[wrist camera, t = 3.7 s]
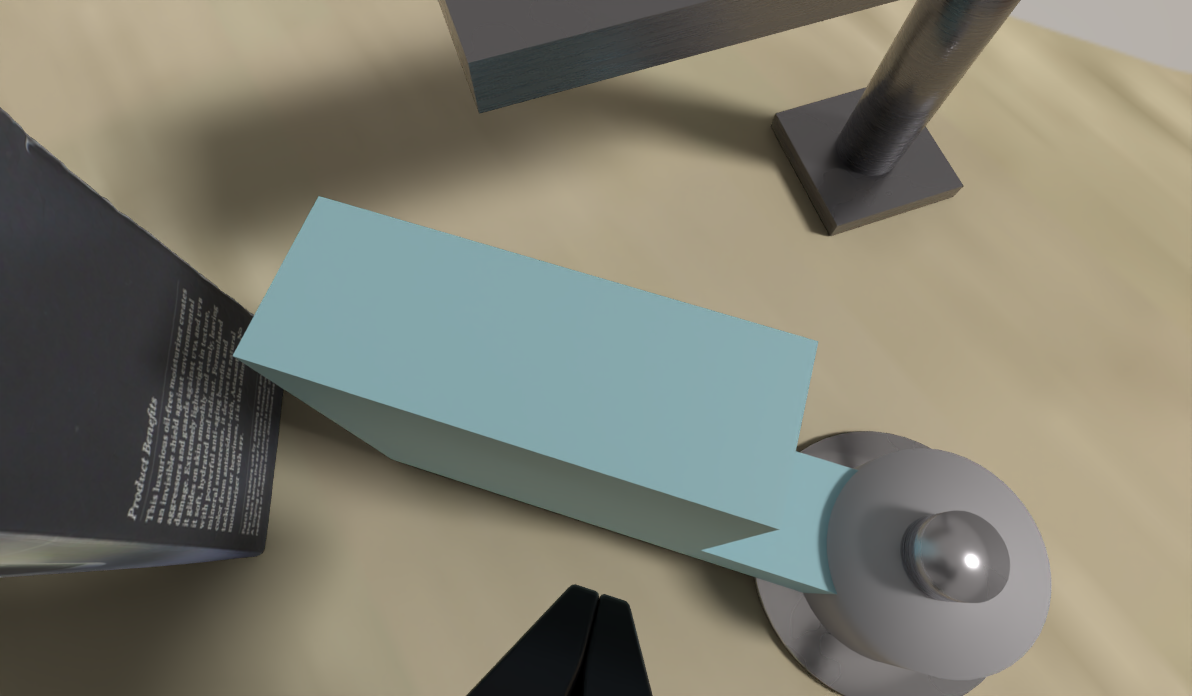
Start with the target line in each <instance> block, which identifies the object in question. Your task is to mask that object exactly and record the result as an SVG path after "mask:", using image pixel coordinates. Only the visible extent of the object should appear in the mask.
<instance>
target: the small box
mask: <svg viewBox="0 0 1192 696" xmlns="http://www.w3.org/2000/svg"><path fill="white" fill-rule="evenodd" d="M253 317H254V315H253V314H252V313H250V312H249V311H248V310H246V309H244V308H243V307H242V306H241V305H240V304H239V303H237V302H236V301H235V300H234V299H233V298H231V297H230V296H228V295H227V294H225V293H224V292H222V291H221V290H220V289H219V288H218V287H217V286H216V285H215V284H213V283H212V282H211V281H209V280H208V279H207V278H205V277H204V276H203V275H202V274H200V273H198V272H197V271H196V270H195V269H194V268H193V267H191V266H190V265H189V264H188V263H187V262H185V261H184V260H183V259H181V258H180V257H179V256H178V255H176V254H175V253H174V252H172V251H171V250H170V249H168V248H167V247H166V246H165V245H164V244H162V243H161V242H160V241H159V240H157V239H156V238H155V237H154V236H153V235H152V234H151V233H149V232H148V231H146V230H145V229H143V228H142V227H140V226H139V225H137V224H136V223H135V222H134V221H133V220H132V219H131V218H129V217H128V216H126V215H125V214H123V213H121V212H120V211H118V210H117V209H116V208H115V207H114V206H113V205H112V203H111V202H110V201H109V200H108V199H106V198H104V197H101V196H100V195H99V194H98V193H97V192H96V191H95V190H94V189H93V188H91V187H90V186H89V185H88V184H86V183H85V182H84V181H83V180H81V179H80V178H79V177H78V176H76V175H75V174H74V173H72V172H71V171H70V170H68V168H67V167H66V166H65V165H64V164H63V163H62V162H61V161H60V160H58V159H57V158H56V157H55V156H53V155H52V154H51V153H50V152H49V151H48V150H47V149H45V148H44V147H43V146H42V145H40V144H39V143H38V142H37V141H36V140H34V139H33V138H31V137H30V136H29V135H28V134H26V133H25V131H24V130H23V129H22V127H21V126H20V125H19V124H18V123H17V122H15V121H14V120H13V119H12V118H11V116H10V115H9V114H8V113H6V112H5V111H4V110H3V109H1V108H0V578H1V577H16V576H31V575H45V574H60V573H73V572H87V571H101V570H115V569H129V568H143V567H157V566H168V565H179V564H190V563H201V562H209V561H218V560H226V559H235V558H246V557H255V556H258V555H260V554H262V553H263V551H264V549H265V542H266V536H267V528H268V522H269V513H270V504H271V496H272V485H273V478H274V469H275V460H276V452H277V444H278V434H279V423H280V415H281V405H282V396H283V388H281V387H280V386H278V385H276V384H275V383H273V382H272V381H270V380H269V379H267V378H266V377H264V376H263V375H261V374H260V373H258V372H256V371H255V370H253V369H252V368H250V367H249V366H247V365H246V364H244V363H243V362H241V361H239V360H238V359H236V358H235V357H233V354H234V352H235V350H236V349H237V347H238V345H239V343H240V341H241V339H242V337H243V336H244V334H245V332H246V330H247V328H248V326H249V324H250V323H251V321H252V319H253Z"/></svg>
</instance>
